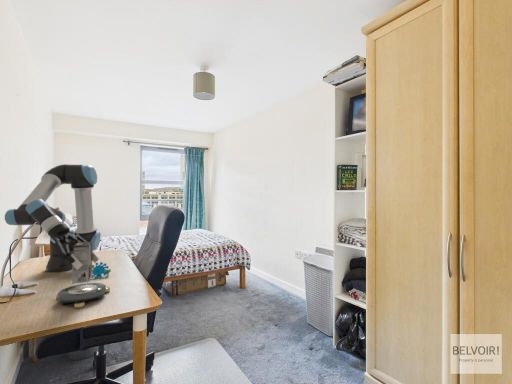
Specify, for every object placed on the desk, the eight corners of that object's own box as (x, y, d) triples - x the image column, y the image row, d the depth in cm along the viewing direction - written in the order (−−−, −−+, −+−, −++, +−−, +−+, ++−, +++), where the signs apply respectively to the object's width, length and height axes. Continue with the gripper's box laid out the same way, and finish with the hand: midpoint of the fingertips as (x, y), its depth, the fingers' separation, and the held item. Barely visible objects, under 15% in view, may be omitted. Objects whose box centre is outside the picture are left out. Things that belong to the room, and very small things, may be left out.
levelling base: (74, 289, 130) (74, 280, 130) (115, 290, 129) (116, 281, 129) (37, 307, 109) (37, 296, 109) (85, 309, 108) (86, 298, 108)
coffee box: (76, 277, 122) (76, 242, 122) (92, 276, 124) (93, 241, 124) (71, 283, 113) (72, 245, 114) (89, 282, 116) (89, 244, 116)
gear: (84, 277, 144) (91, 260, 152) (86, 282, 148) (93, 266, 156) (107, 278, 147) (113, 262, 154) (108, 283, 151) (114, 267, 158)
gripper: (69, 230, 131) (99, 263, 130) (26, 238, 108) (63, 277, 107) (80, 219, 131) (110, 252, 130) (39, 225, 108) (75, 264, 107)
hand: (89, 263), depth 119 cm, fingers closed on coffee box, 10 cm apart
